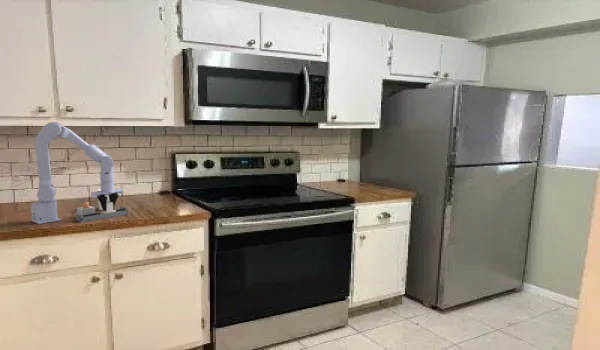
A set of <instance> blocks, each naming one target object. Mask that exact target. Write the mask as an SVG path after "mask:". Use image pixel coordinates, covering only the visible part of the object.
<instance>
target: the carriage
mask: <svg viewBox="0 0 600 350" xmlns="http://www.w3.org/2000/svg"><path fill="white" fill-rule="evenodd" d="M106 206H107V210H106V211H103V210H102V211H100V212H101V214H105V213H111V212H116V211H115V210H116V209H114V210H113V202H110V201H109V202H107V203H106Z"/></svg>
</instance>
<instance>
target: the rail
mask: <svg viewBox="0 0 600 350" xmlns="http://www.w3.org/2000/svg"><path fill="white" fill-rule="evenodd" d="M114 210H115V211H116V212H111V213H105V214H101V212H102V211H99V212H95V213H92V214H86V215H82V214H79V213H77V212H76V213H75V221H77V222H79V223H83V222H91V221H97V220H101V219H106V218H107V219H108V218H114V217H119V216H125V215H129V207H127V206H123V205H121V206H120V208H118V209H117V208H116V209H114Z"/></svg>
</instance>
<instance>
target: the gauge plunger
mask: <svg viewBox="0 0 600 350" xmlns="http://www.w3.org/2000/svg"><path fill="white" fill-rule="evenodd" d="M82 204H83V206H82V207H83V209H86V208H89V206H90V201H84V202H82Z"/></svg>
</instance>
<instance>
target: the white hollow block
mask: <svg viewBox="0 0 600 350" xmlns="http://www.w3.org/2000/svg"><path fill="white" fill-rule="evenodd" d="M76 211H77V212H76V213H79V214H82V215H86V214H92V213H96V207H94V206H92V205H89V208H86V209H83V206H80V207H77V208H76Z"/></svg>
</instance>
